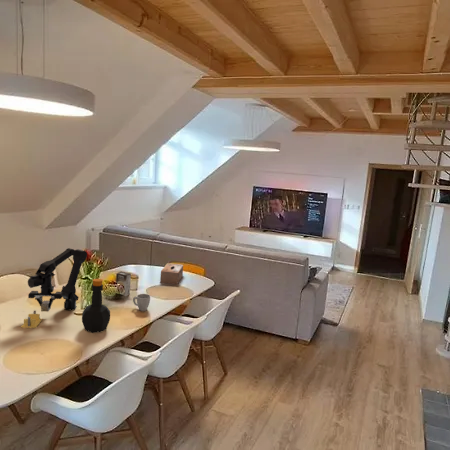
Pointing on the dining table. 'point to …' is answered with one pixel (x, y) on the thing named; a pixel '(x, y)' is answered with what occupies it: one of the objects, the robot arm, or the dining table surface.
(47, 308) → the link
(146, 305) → the mug
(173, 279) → the tissue box cover
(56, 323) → the dining table surface
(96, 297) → the bottle
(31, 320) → the keeper
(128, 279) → the coffee box
